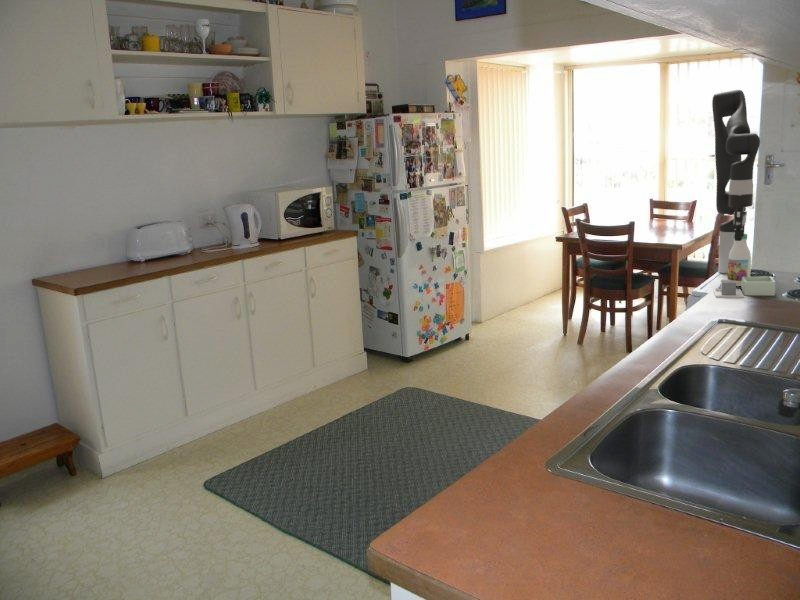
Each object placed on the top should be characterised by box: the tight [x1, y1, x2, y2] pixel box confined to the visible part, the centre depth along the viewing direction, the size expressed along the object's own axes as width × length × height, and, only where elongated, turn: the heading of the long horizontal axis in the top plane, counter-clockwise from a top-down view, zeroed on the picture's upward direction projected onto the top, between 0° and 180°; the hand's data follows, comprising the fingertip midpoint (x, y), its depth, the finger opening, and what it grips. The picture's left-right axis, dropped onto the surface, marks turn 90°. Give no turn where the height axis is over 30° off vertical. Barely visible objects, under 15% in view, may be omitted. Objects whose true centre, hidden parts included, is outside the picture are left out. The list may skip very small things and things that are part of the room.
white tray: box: [712, 288, 745, 299], centre depth 251 cm, size 11×9×1 cm
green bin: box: [740, 276, 776, 297], centre depth 250 cm, size 10×10×5 cm
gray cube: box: [720, 279, 737, 295], centre depth 250 cm, size 5×5×5 cm
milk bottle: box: [727, 233, 752, 286], centre depth 261 cm, size 8×8×20 cm
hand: (739, 238), depth 245 cm, fingers open, 8 cm apart
